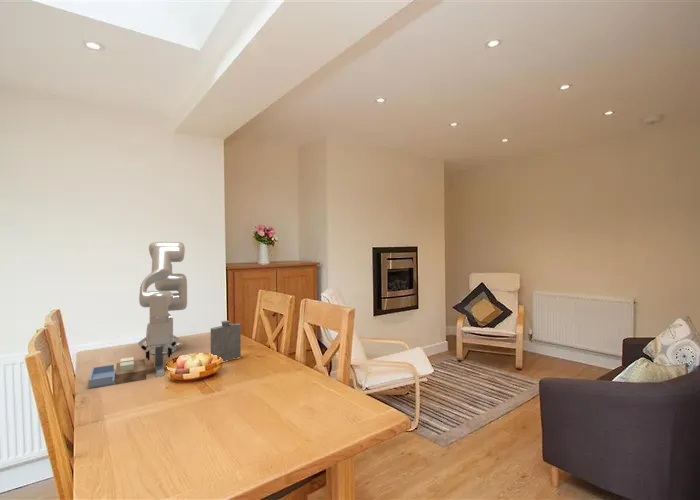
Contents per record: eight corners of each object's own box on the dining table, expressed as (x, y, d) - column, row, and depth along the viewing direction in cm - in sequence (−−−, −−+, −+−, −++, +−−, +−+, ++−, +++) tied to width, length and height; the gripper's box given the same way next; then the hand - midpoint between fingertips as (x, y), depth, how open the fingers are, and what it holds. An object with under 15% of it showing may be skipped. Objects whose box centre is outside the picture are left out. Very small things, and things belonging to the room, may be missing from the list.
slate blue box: (115, 371, 164) (115, 364, 164) (114, 384, 149) (114, 376, 149) (92, 375, 159) (92, 367, 159) (89, 388, 144) (88, 380, 144)
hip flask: (212, 365, 173) (212, 324, 173) (208, 363, 175) (208, 323, 175) (241, 358, 185) (241, 319, 185) (237, 356, 187) (237, 318, 187)
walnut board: (144, 367, 170) (144, 359, 170) (146, 379, 155) (146, 369, 155) (116, 371, 164) (116, 363, 164) (115, 384, 149) (115, 374, 149)
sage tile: (133, 366, 159) (133, 360, 159) (133, 369, 155) (133, 364, 155) (120, 368, 156) (120, 362, 156) (120, 371, 152) (120, 366, 152)
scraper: (161, 366, 173) (161, 343, 173) (164, 375, 159) (164, 351, 159) (154, 367, 171) (154, 344, 171) (156, 377, 158) (156, 352, 158)
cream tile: (133, 362, 165) (133, 356, 165) (133, 365, 161) (133, 359, 161) (120, 364, 162) (120, 358, 162) (120, 367, 158) (120, 361, 158)
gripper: (178, 316, 173) (178, 353, 173) (136, 320, 164) (136, 359, 164) (180, 319, 167) (180, 357, 167) (137, 323, 157) (137, 363, 157)
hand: (158, 357), depth 165 cm, fingers open, 7 cm apart
